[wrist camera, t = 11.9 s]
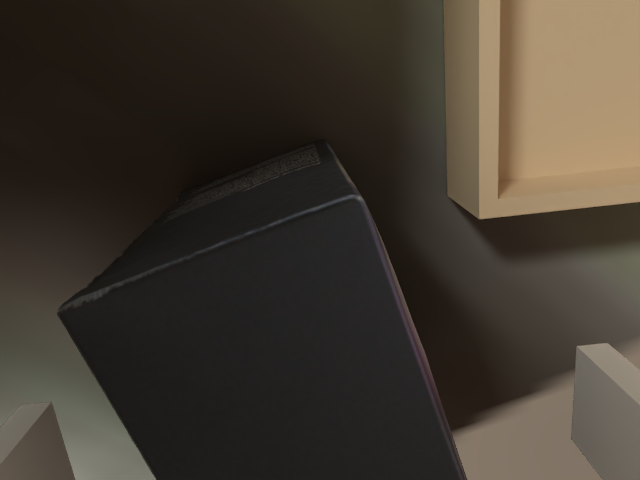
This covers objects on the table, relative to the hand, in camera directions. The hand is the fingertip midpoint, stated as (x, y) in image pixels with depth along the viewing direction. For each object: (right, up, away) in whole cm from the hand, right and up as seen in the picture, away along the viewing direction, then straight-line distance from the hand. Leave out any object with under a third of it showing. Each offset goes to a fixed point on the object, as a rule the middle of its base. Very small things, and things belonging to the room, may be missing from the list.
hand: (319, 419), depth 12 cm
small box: (-1, +3, +8) cm, 8 cm away
